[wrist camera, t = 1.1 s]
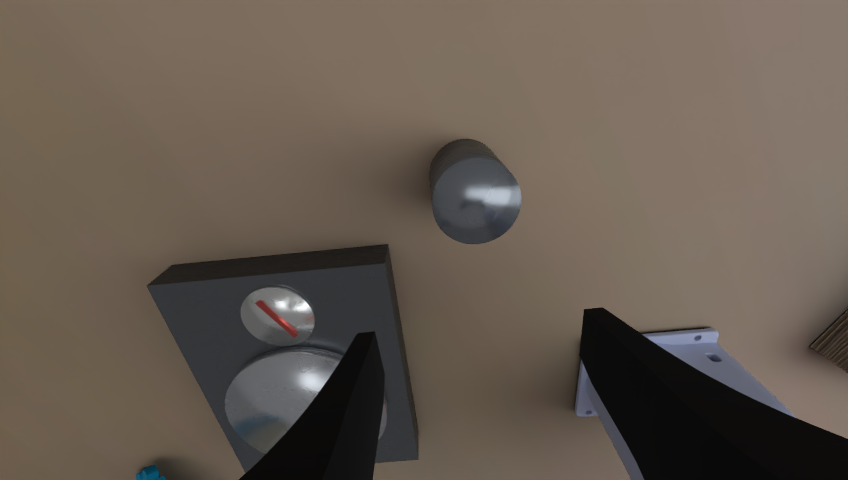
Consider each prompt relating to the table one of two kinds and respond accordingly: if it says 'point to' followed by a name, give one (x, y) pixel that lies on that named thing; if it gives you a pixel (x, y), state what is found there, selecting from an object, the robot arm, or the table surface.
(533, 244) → the table surface
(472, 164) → the metal cylinder
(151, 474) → the gear
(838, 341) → the black hardcover book
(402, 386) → the scale
